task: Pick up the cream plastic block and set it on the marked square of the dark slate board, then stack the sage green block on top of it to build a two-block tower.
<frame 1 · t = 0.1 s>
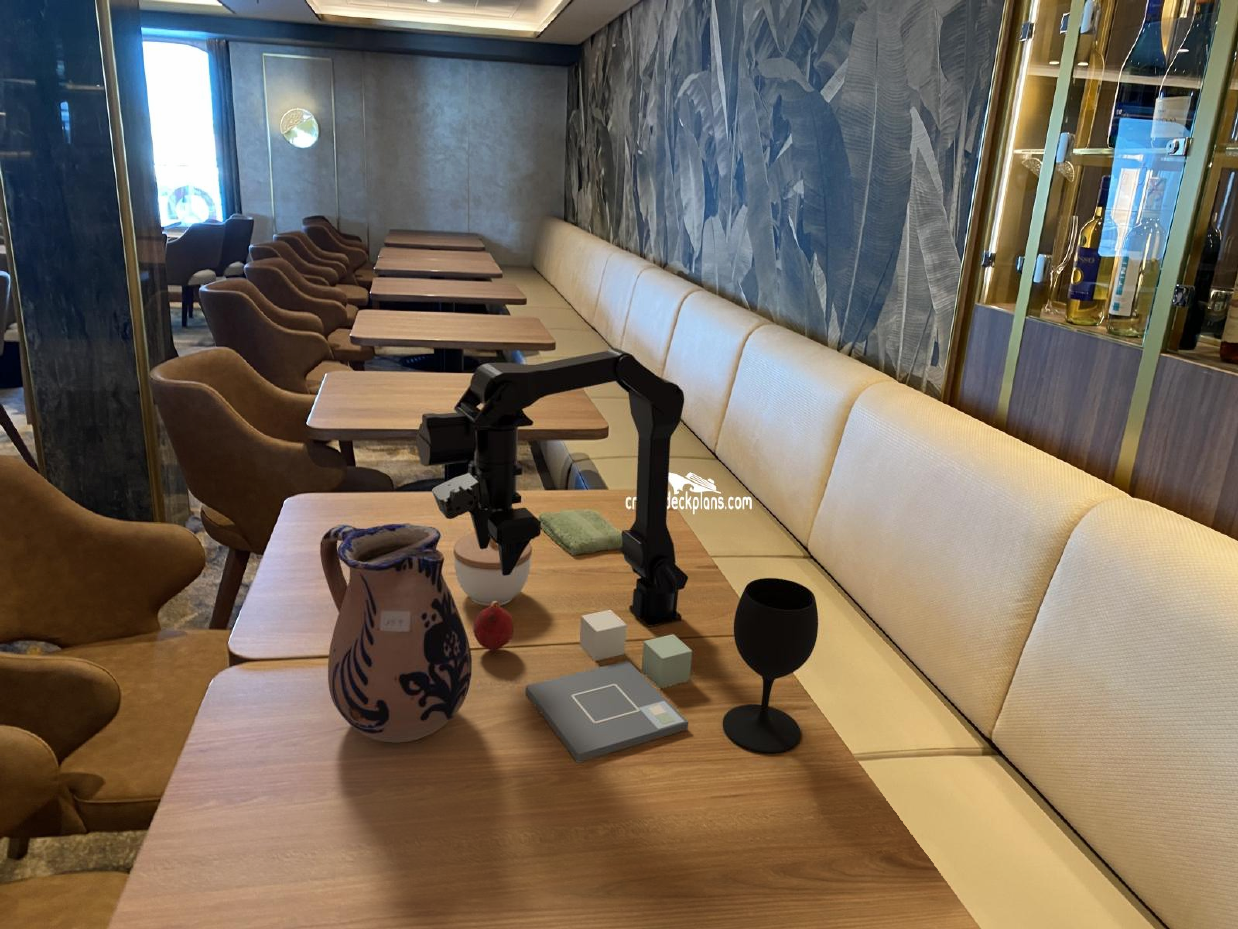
hand: (494, 561, 125), 15 cm above the table, tool pointing down, fingers open, 9 cm apart
slate board: (604, 711, 117), on the table
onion: (493, 651, 130), on the table
washcloth: (580, 538, 171), on the table
ceramic pitcher: (390, 718, 113), on the table
lidded bowl: (492, 597, 146), on the table
wine glass: (761, 731, 115), on the table
cream block: (601, 649, 132), on the table
sage block: (665, 676, 126), on the table
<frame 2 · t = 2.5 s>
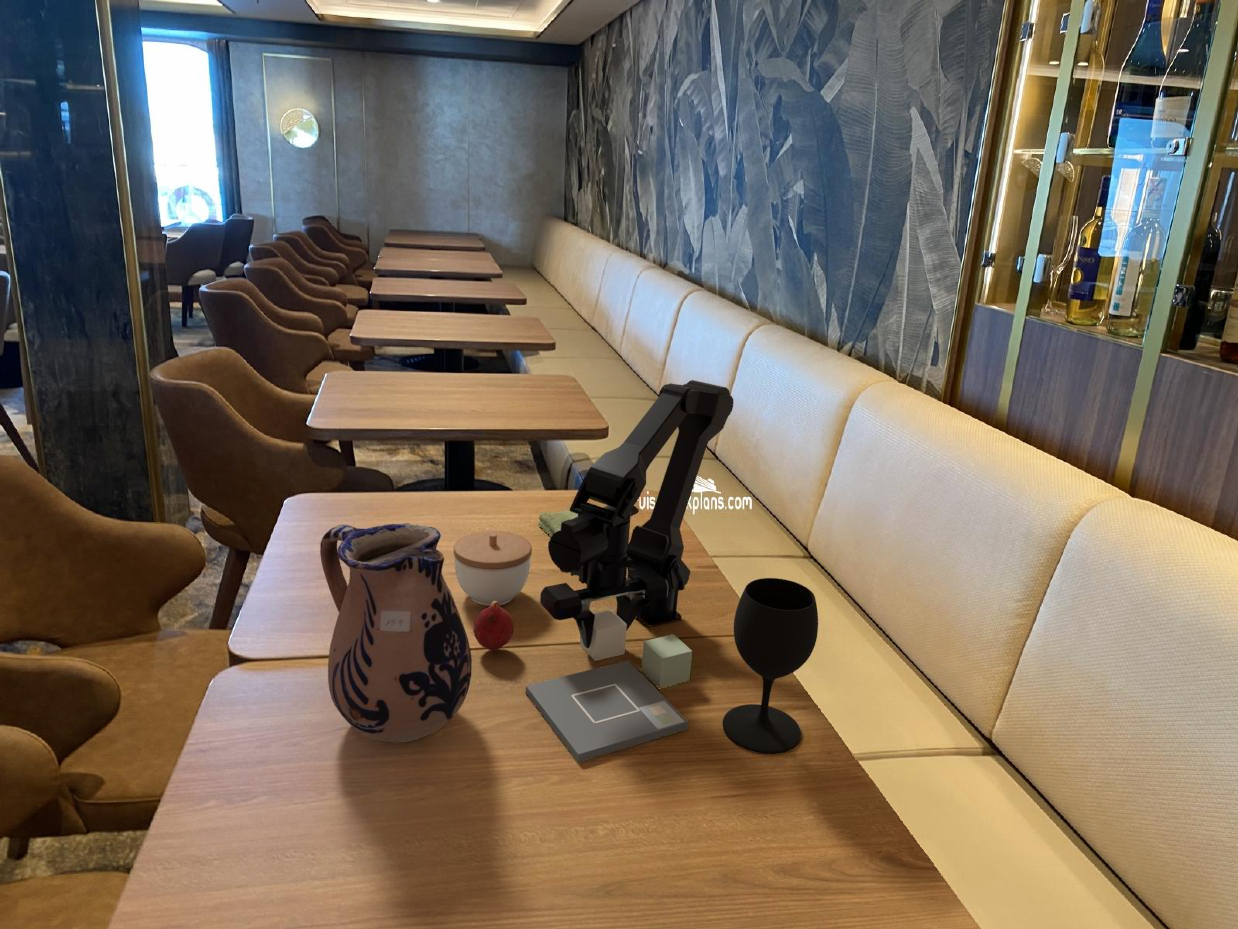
hand: (602, 643, 131), 1 cm above the table, tool pointing down, fingers closed on cream block, 5 cm apart
cream block: (602, 649, 132), on the table, touching gripper
everything else where it was.
when the fingers open (4 cm above the table, at t = 6.7 s): cream block drops 1 cm, resting on slate board.
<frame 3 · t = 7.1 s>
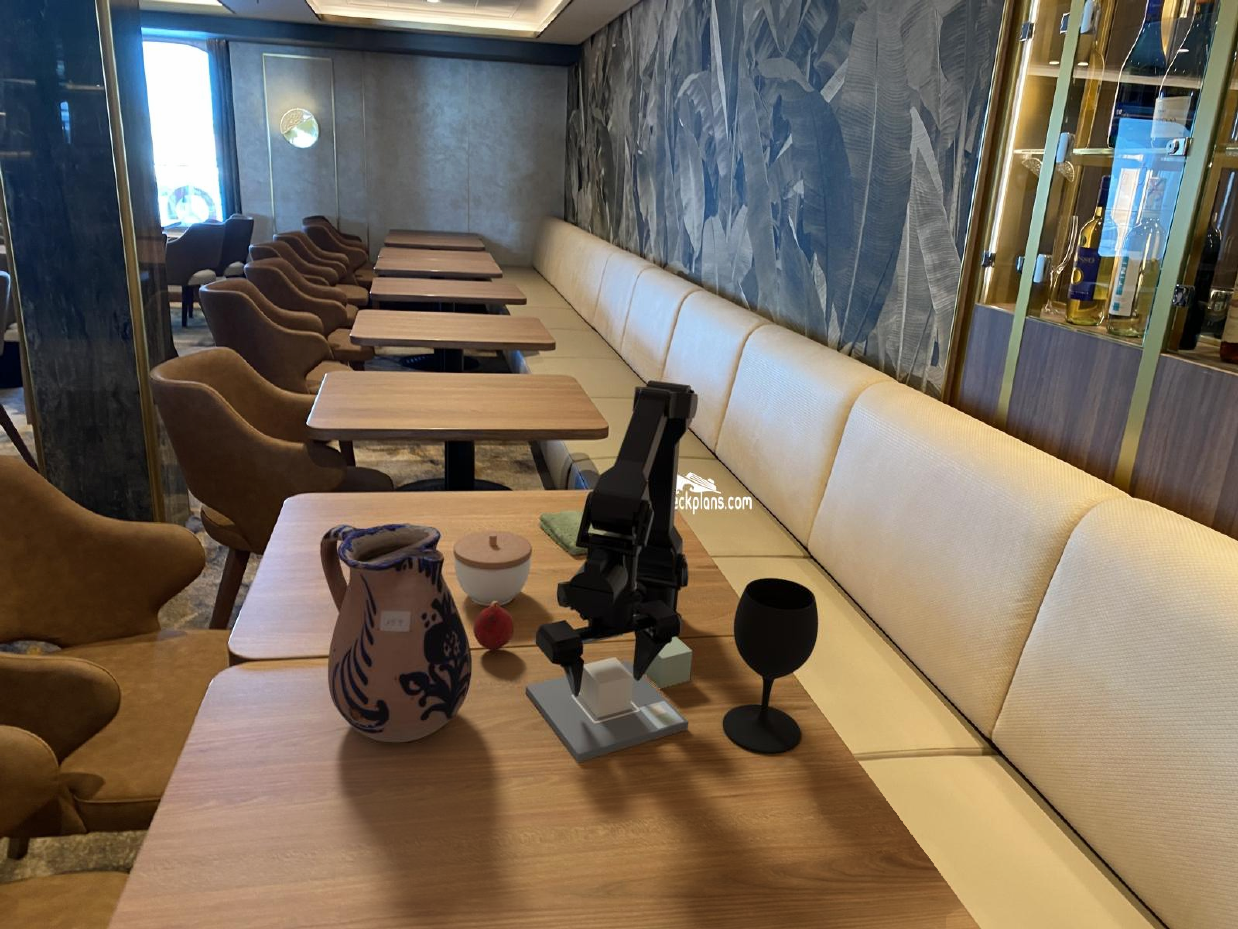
hand: (606, 687, 116), 4 cm above the table, tool pointing down, fingers open, 9 cm apart
cream block: (605, 703, 117), point 1 cm above the table, touching slate board
everything else where it was.
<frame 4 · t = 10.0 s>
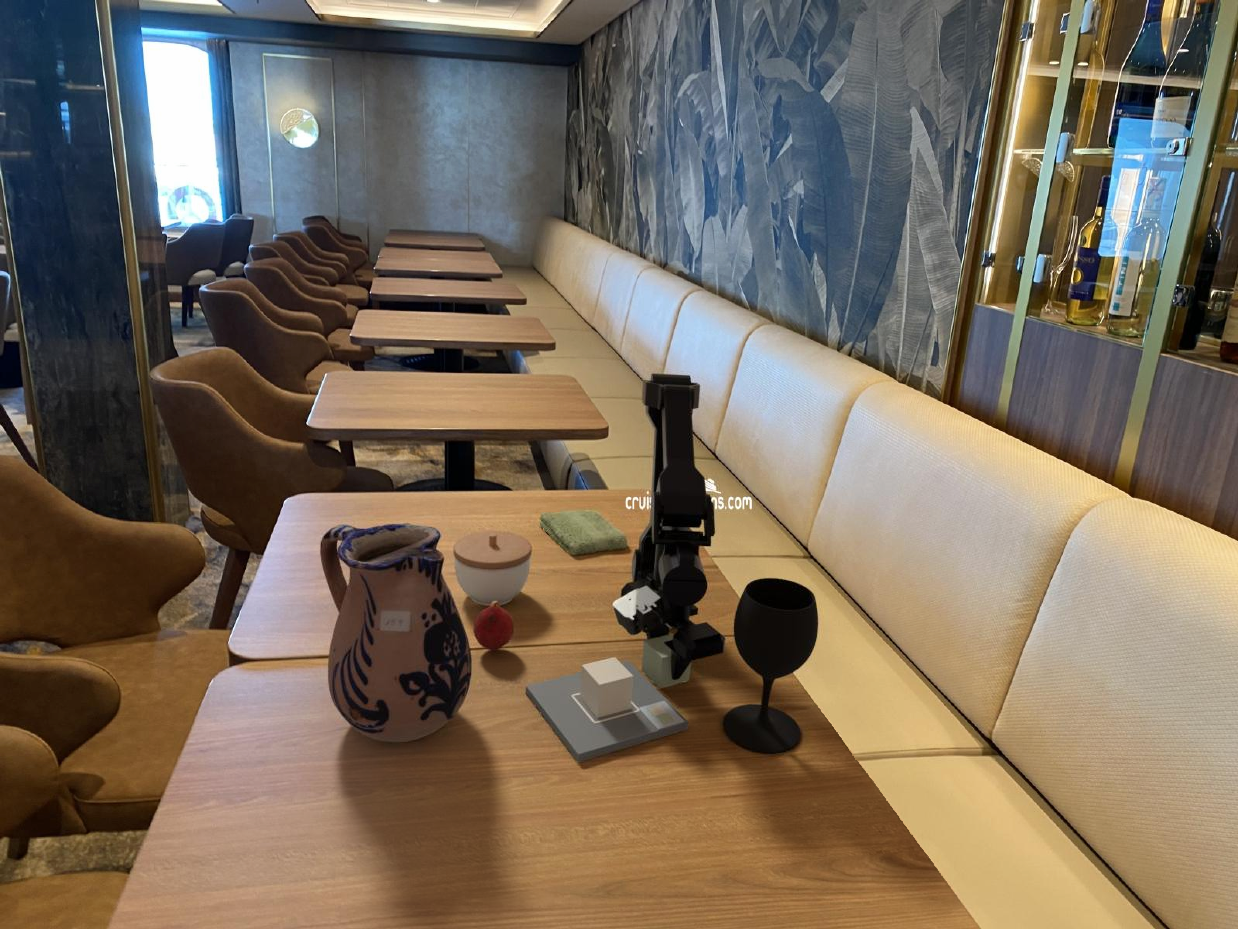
hand: (665, 669, 126), 1 cm above the table, tool pointing down, fingers closed on sage block, 5 cm apart
sage block: (665, 675, 126), on the table, touching gripper
everything else where it was.
when the fingers open (9 cm above the table, at t = 13.2 s): sage block drops 1 cm, resting on cream block.
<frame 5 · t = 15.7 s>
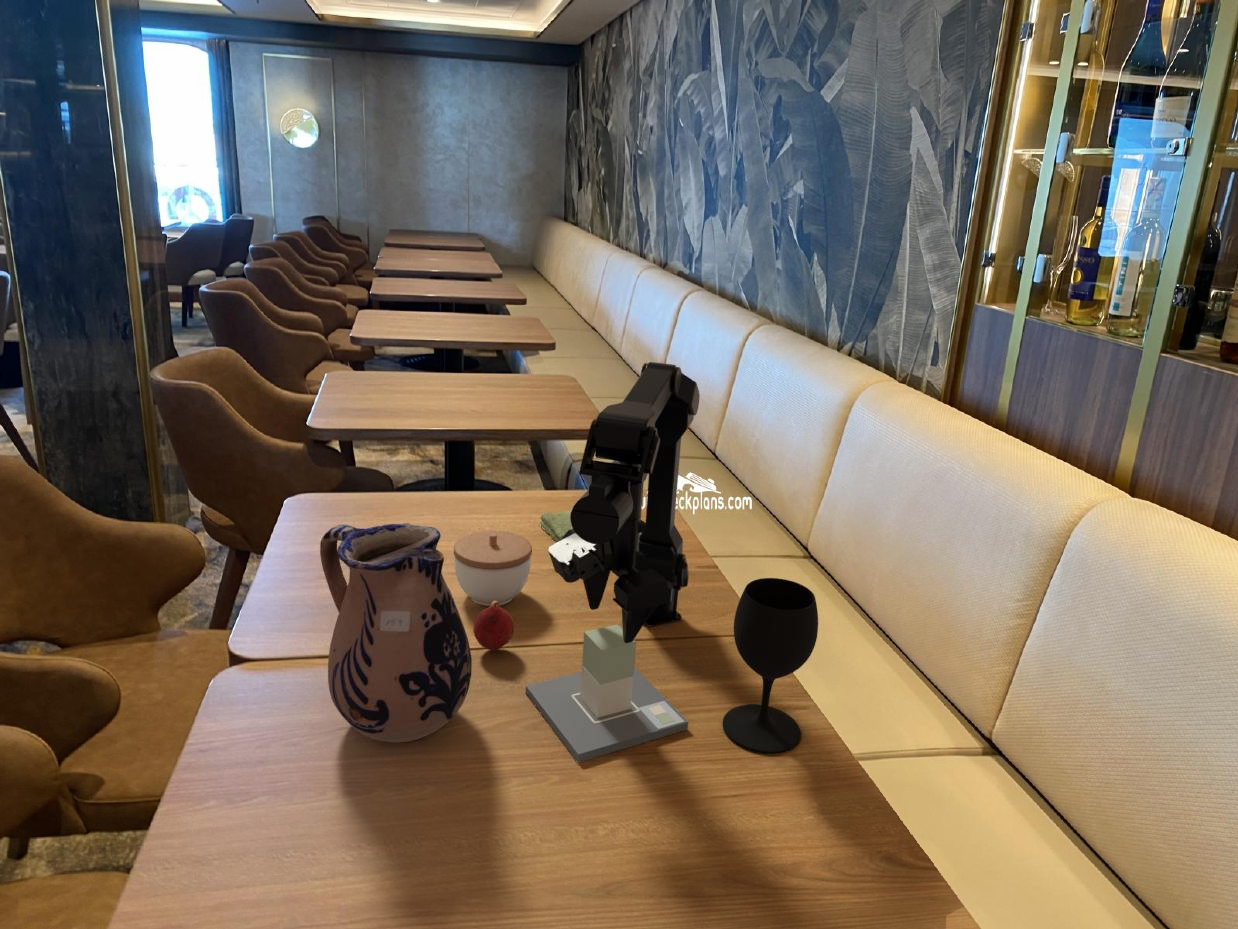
hand: (610, 625, 113), 13 cm above the table, tool pointing down, fingers open, 9 cm apart
cream block: (605, 703, 117), point 1 cm above the table, touching sage block, slate board
sage block: (607, 670, 115), point 6 cm above the table, touching cream block
everything else where it was.
at the end: cream block 0.0 cm from the target spot, point 1.2 cm above the table; sage block 0.0 cm off-centre on the cream block, point 5.0 cm above the cream block's base; sage block tilted 0° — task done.
